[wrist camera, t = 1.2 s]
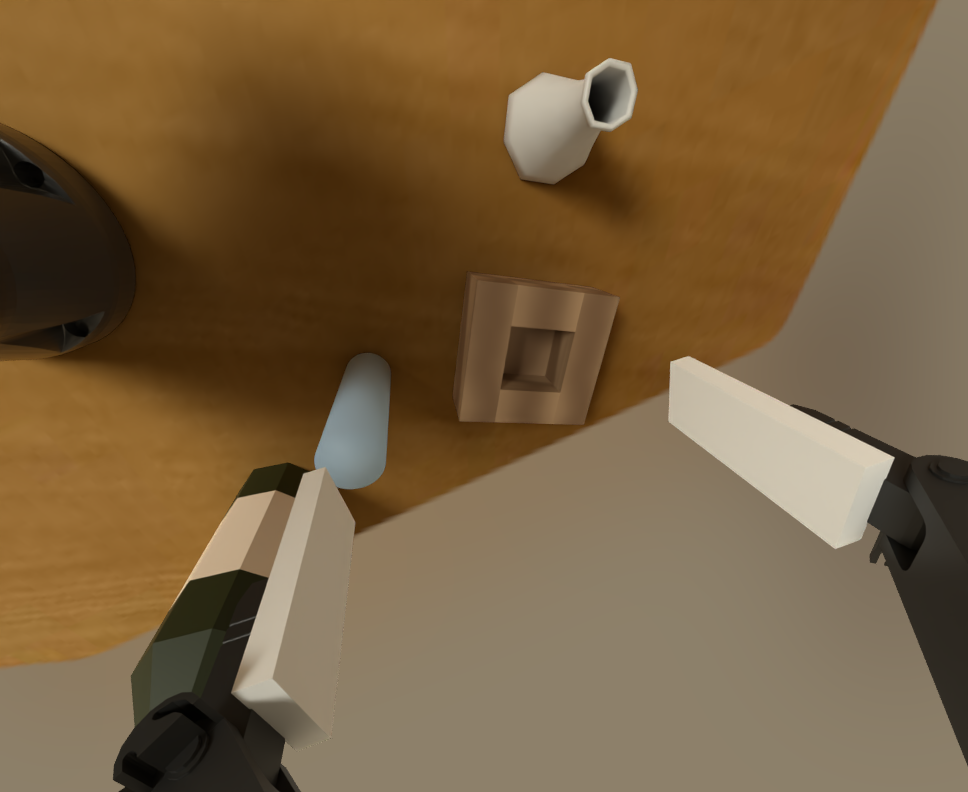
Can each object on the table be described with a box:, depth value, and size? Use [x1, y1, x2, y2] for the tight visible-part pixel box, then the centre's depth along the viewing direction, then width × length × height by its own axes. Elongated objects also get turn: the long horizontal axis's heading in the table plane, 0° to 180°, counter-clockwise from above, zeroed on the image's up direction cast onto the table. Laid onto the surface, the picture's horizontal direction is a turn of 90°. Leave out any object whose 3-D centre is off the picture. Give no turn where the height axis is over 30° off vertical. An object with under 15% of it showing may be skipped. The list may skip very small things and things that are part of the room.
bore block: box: [453, 272, 620, 425], centre depth 34 cm, size 12×12×5 cm
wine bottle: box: [131, 463, 309, 727], centre depth 25 cm, size 8×8×30 cm
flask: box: [504, 58, 638, 184], centre depth 25 cm, size 7×7×10 cm
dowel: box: [314, 353, 391, 489], centre depth 28 cm, size 4×4×14 cm
